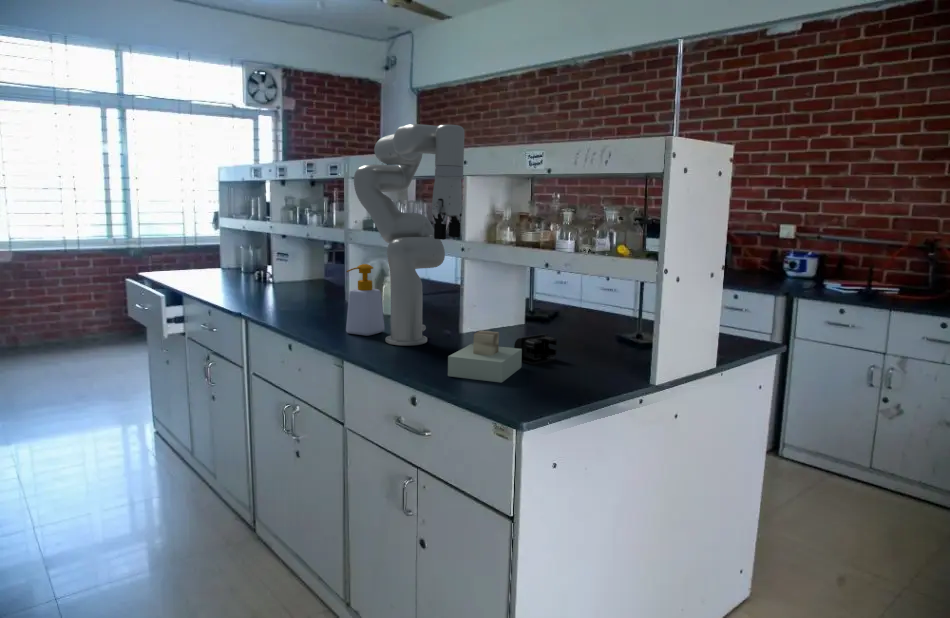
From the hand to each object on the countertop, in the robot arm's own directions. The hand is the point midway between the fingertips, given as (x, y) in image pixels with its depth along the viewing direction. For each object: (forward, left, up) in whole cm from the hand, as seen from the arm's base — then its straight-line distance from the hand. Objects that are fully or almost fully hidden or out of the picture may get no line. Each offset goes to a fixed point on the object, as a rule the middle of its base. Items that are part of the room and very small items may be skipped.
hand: (447, 238), depth 180 cm
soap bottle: (-16, -36, -33) cm, 52 cm away
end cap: (-7, +24, -33) cm, 41 cm away
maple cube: (+11, +16, -28) cm, 34 cm away
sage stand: (+11, +16, -33) cm, 38 cm away
